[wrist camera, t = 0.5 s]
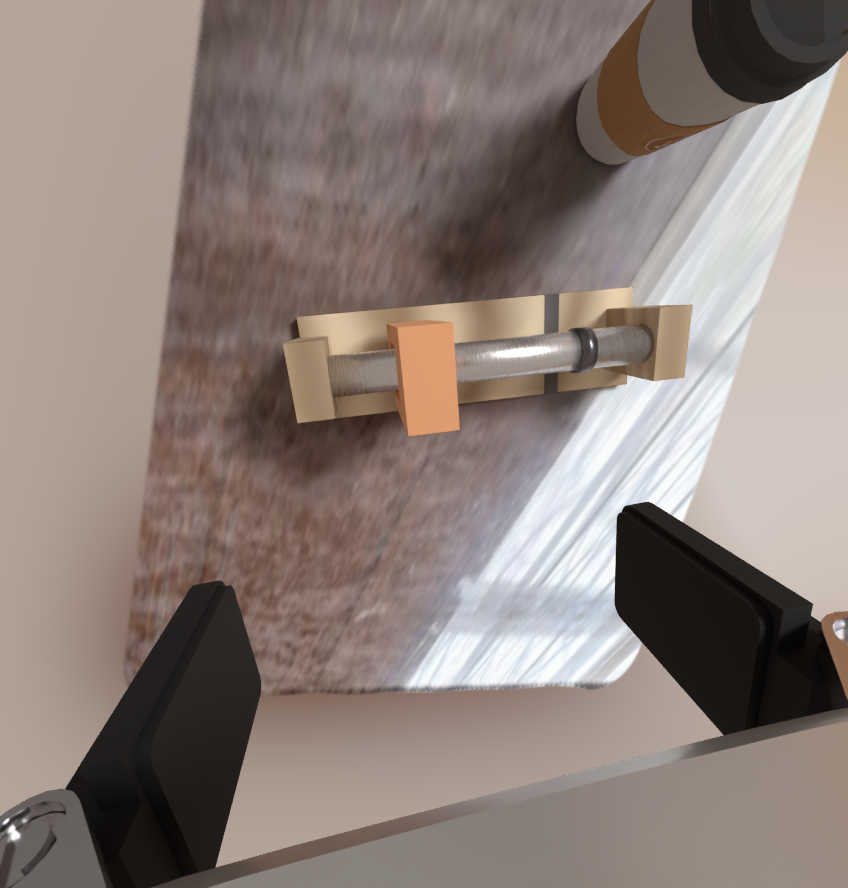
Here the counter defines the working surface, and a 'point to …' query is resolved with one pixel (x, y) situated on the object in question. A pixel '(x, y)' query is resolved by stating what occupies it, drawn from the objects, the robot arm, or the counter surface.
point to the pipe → (502, 358)
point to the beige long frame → (483, 324)
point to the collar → (425, 375)
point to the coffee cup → (703, 69)
